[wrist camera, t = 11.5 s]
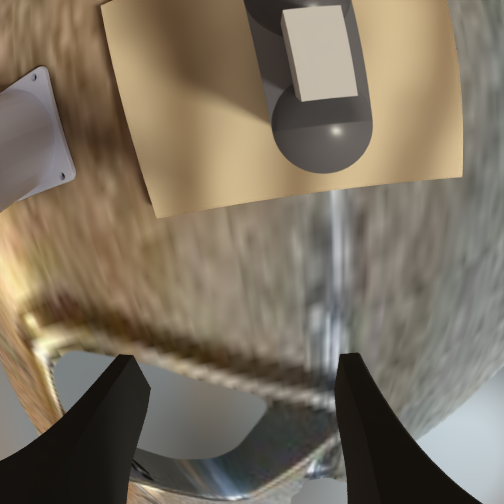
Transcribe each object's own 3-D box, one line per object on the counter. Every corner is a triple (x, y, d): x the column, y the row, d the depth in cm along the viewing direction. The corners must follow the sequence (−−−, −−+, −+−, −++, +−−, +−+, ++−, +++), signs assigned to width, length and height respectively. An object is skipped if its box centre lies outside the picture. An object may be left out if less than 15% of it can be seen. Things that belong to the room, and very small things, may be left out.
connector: (277, 142, 15) (283, 204, 8) (247, 0, 11) (223, -65, 5) (340, 134, 15) (397, 188, 8) (313, -8, 11) (350, -76, 4)
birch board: (163, 210, 19) (156, 218, 18) (110, 8, 12) (100, 5, 11) (452, 170, 16) (462, 177, 15) (426, -34, 10) (435, -39, 9)
